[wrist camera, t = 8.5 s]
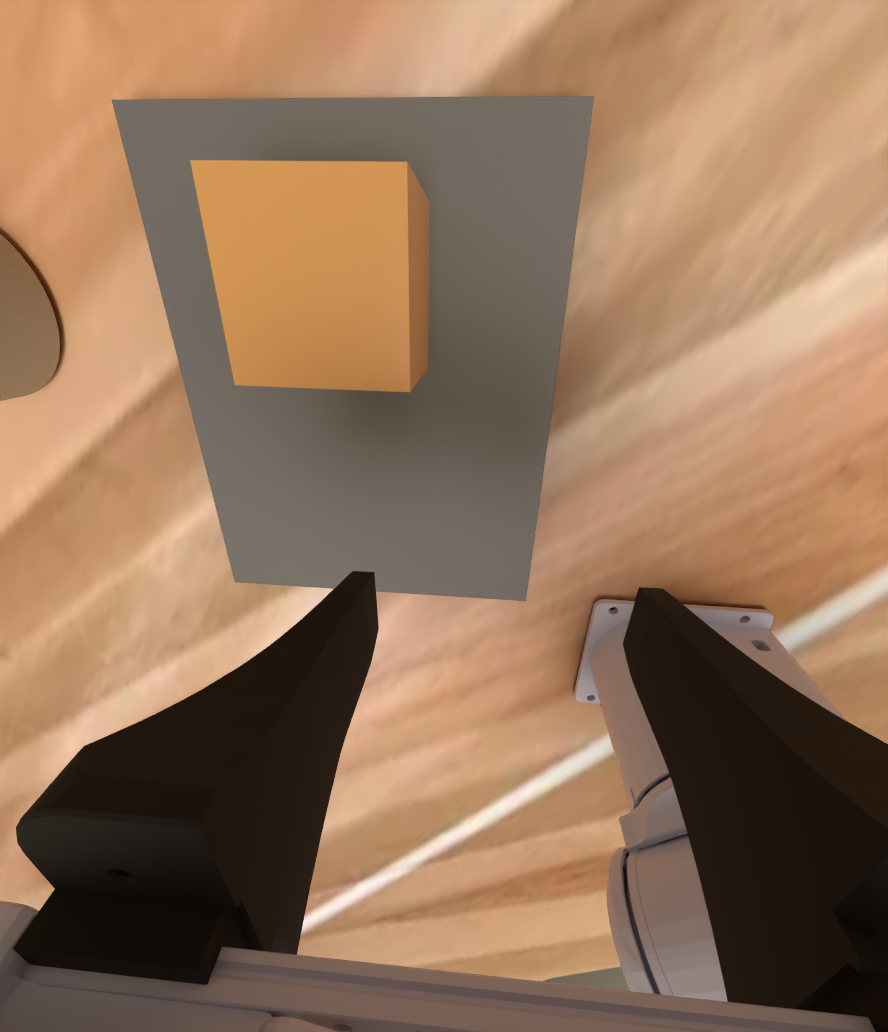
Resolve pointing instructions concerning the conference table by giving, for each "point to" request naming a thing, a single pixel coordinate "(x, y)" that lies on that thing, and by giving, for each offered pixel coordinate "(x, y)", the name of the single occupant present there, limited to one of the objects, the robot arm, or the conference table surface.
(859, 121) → the conference table surface
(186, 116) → the board
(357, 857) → the conference table surface
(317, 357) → the wooden toy cube
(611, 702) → the robot arm
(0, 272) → the travel mug
